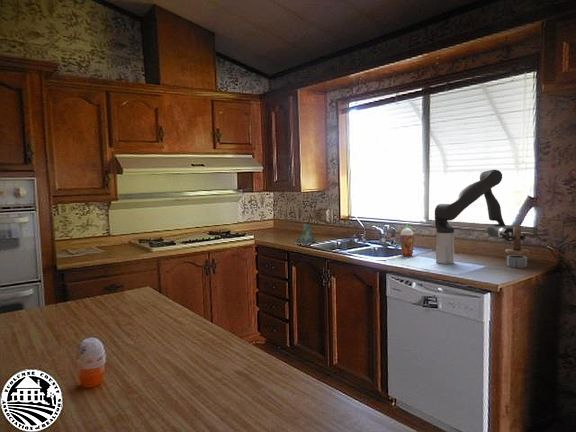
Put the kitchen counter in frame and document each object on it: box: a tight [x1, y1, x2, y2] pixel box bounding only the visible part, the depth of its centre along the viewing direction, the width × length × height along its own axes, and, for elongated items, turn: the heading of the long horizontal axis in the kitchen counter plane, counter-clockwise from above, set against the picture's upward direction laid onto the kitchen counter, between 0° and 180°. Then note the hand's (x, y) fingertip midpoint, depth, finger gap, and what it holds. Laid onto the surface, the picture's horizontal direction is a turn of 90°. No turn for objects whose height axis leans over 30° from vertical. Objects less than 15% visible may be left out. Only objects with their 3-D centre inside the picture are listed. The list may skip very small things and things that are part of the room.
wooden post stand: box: [505, 226, 530, 255], centre depth 230 cm, size 11×11×14 cm
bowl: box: [506, 254, 528, 269], centre depth 231 cm, size 9×9×5 cm
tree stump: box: [293, 223, 318, 244], centre depth 343 cm, size 18×20×18 cm
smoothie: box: [399, 223, 415, 257], centre depth 273 cm, size 8×8×20 cm
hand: (519, 238), depth 227 cm, fingers closed on wooden post stand, 3 cm apart
